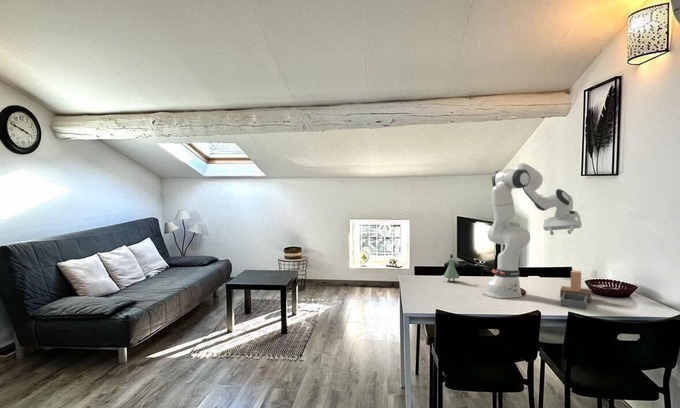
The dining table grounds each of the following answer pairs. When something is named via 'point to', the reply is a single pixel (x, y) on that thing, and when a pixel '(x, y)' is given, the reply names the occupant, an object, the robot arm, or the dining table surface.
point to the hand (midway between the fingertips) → (560, 233)
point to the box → (574, 300)
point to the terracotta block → (576, 280)
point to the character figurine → (451, 269)
